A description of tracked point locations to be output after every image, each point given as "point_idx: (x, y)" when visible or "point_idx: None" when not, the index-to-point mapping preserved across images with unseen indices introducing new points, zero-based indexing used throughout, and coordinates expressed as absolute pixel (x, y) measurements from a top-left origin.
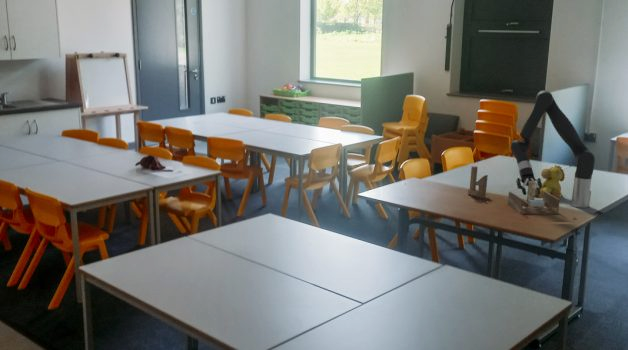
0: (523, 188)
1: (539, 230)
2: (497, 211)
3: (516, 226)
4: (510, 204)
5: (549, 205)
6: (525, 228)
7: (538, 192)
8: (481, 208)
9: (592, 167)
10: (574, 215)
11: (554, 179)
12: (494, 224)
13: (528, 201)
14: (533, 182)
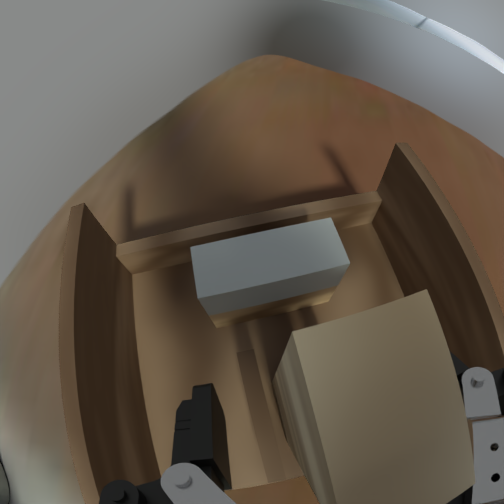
0: (461, 377)
1: (291, 79)
2: None
3: (367, 98)
4: None
5: (128, 374)
6: (337, 87)
7: (211, 391)
8: None
9: None
10: (43, 293)
11: None
12: (432, 113)
13: (346, 269)
14: (375, 312)
